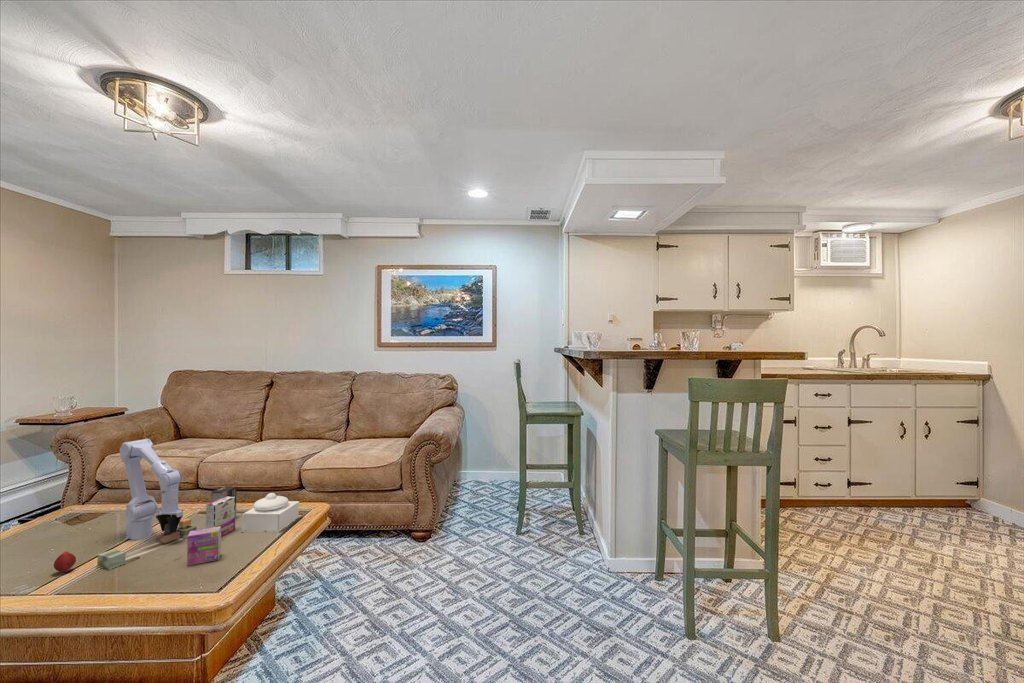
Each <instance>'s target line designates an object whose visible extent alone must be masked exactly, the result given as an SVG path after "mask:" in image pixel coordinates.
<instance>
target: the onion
mask: <svg viewBox="0 0 1024 683" xmlns="http://www.w3.org/2000/svg"><path fill="white" fill-rule="evenodd" d="M76 561H77V557H76V556H75V554H74V553H71V552H69V550H65V551H63V553H61V554H59V556H57V558H56V559H55V560H54V561H53V562H54V563H53V568H54V569H55V570H56V571H58V572H61V573H67V572H68V571H70V569H71V568H73V567H74V566H75V564H76ZM66 571H67V572H66Z"/></svg>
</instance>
